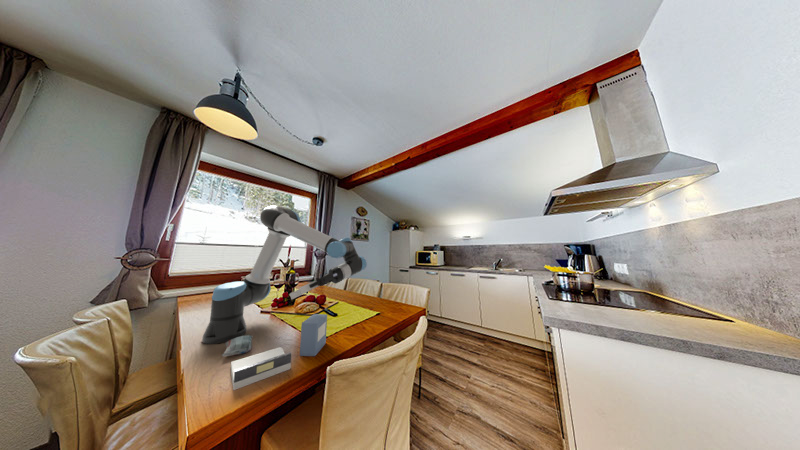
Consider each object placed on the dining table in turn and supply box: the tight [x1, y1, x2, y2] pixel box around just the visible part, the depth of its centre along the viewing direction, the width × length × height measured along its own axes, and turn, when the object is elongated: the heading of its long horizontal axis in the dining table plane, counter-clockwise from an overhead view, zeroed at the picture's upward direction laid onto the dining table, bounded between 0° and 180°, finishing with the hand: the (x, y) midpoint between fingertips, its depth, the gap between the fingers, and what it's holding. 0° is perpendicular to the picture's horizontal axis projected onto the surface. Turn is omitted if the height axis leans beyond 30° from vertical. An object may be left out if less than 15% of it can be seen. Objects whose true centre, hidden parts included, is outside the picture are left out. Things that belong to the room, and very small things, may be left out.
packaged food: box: [221, 334, 253, 357], centre depth 78 cm, size 9×12×5 cm
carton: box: [299, 313, 328, 357], centre depth 81 cm, size 6×10×12 cm, turn 178°
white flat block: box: [230, 346, 292, 391], centre depth 67 cm, size 14×15×5 cm
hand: (295, 293), depth 81 cm, fingers open, 13 cm apart
